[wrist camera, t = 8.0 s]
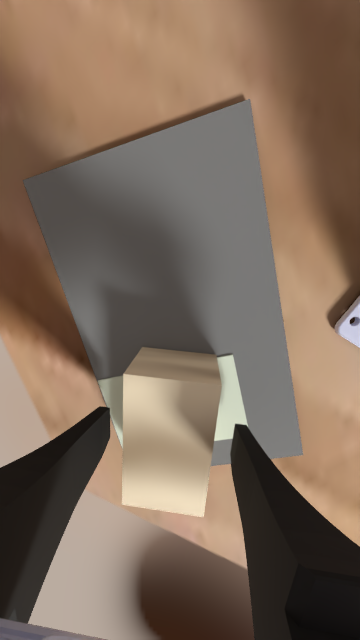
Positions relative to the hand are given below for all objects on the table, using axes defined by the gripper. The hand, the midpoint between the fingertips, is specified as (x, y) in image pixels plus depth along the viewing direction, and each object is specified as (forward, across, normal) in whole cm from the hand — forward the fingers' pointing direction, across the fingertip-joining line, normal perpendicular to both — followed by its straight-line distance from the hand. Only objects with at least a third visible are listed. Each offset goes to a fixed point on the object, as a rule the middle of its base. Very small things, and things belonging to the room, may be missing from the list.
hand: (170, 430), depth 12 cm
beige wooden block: (+2, 0, 0) cm, 2 cm away
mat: (+2, 0, -5) cm, 6 cm away
